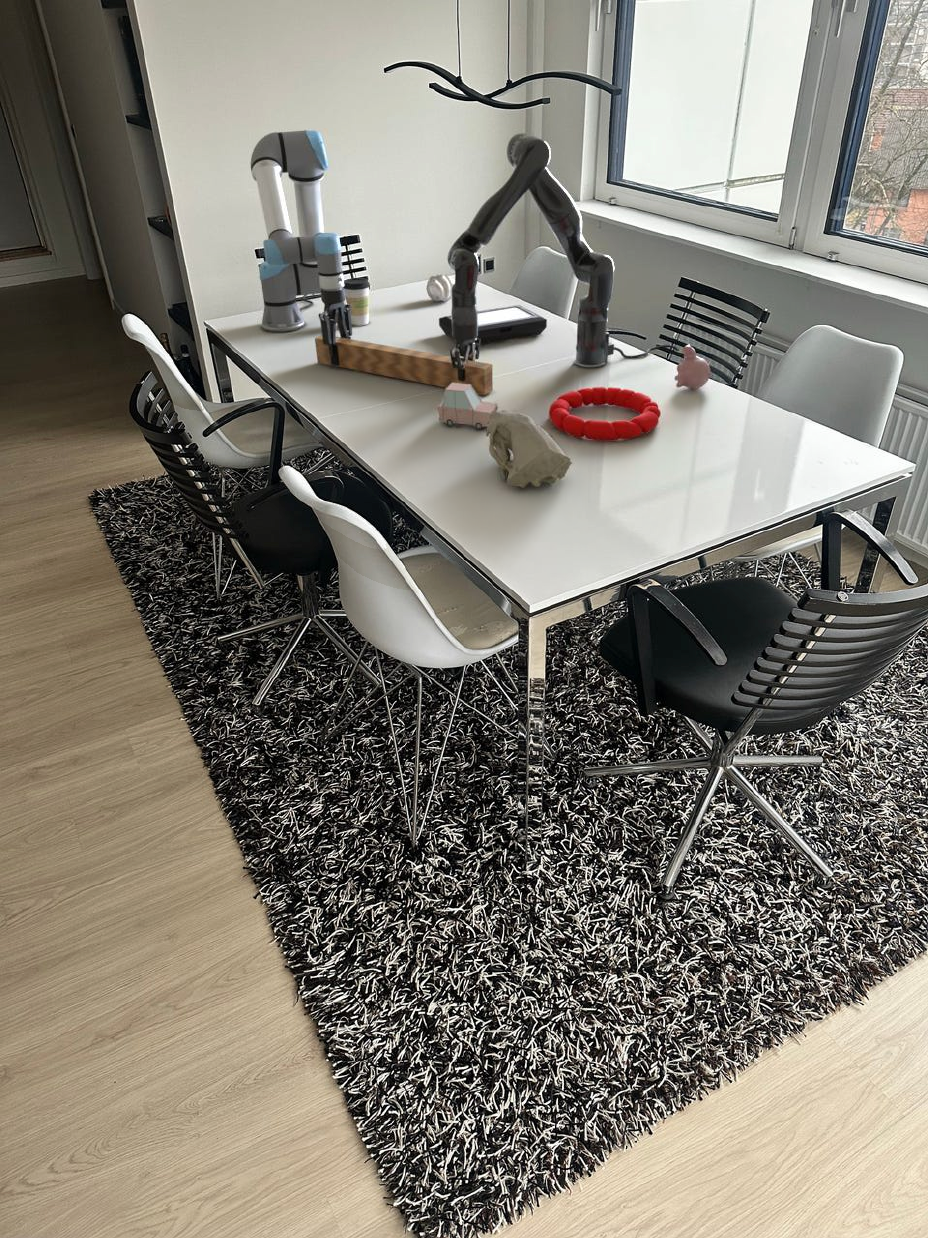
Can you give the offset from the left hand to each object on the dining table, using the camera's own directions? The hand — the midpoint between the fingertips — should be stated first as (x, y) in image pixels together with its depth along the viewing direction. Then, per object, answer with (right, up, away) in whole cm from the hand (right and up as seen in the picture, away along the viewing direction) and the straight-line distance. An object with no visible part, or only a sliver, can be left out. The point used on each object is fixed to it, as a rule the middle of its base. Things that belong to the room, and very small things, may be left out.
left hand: (340, 362), depth 288 cm
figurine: (+107, -15, -25) cm, 111 cm away
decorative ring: (+78, -29, -44) cm, 95 cm away
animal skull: (+54, -46, -68) cm, 98 cm away
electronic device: (+50, +16, +23) cm, 57 cm away
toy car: (+41, -29, -42) cm, 66 cm away
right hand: (+41, -11, -23) cm, 48 cm away
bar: (+20, -7, -10) cm, 24 cm away
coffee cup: (+2, +25, +39) cm, 47 cm away
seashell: (+32, +41, +61) cm, 80 cm away
